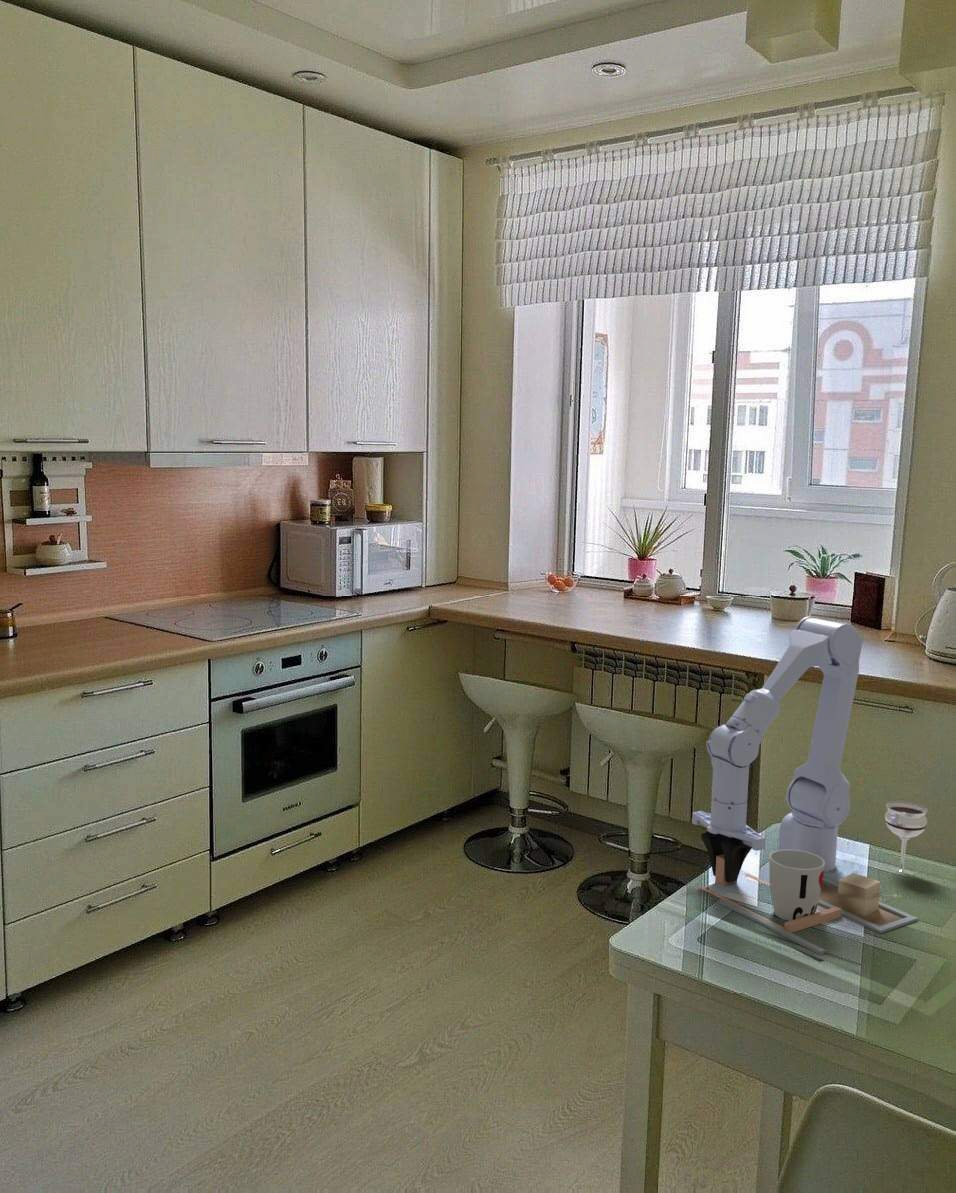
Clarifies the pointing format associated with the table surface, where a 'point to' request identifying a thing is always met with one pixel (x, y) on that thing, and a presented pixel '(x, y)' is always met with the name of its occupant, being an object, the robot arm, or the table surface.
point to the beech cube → (858, 894)
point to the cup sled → (789, 926)
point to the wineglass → (905, 823)
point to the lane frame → (906, 917)
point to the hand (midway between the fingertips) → (725, 877)
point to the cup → (795, 883)
